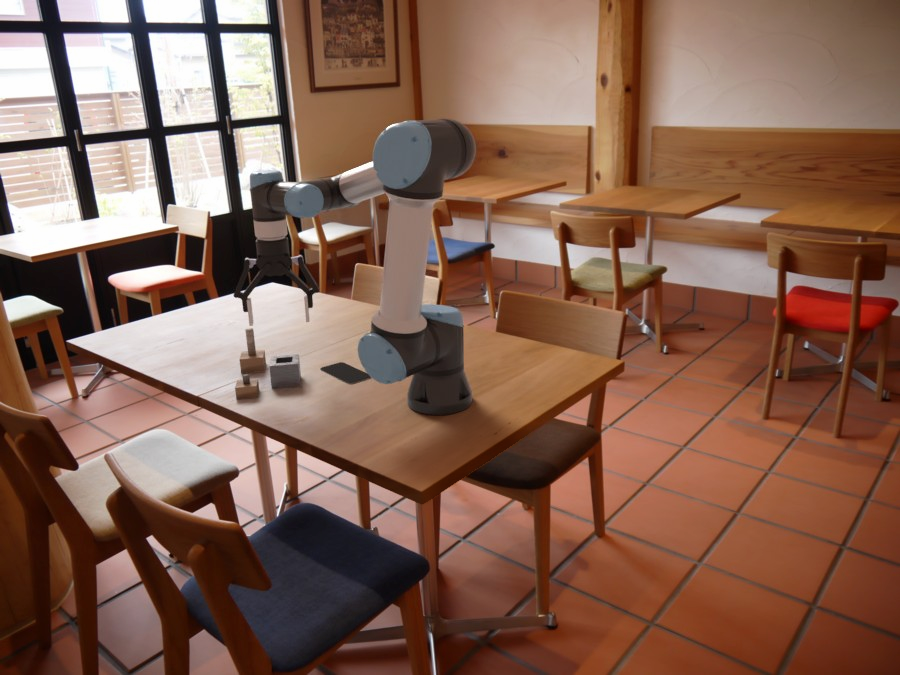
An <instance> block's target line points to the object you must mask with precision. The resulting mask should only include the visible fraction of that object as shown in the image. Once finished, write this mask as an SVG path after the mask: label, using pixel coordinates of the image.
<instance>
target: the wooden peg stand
mask: <svg viewBox="0 0 900 675" xmlns="http://www.w3.org/2000/svg"><path fill="white" fill-rule="evenodd" d="M244 330H245V338H246V345H247V346H246V347H247V351H241V353H240V355H239V356H240V357H239V365H240V374H242V375H243V374H252V373H264V372H265V373H266V367H267V361H266V359H267V358H266V350H265V349H260V350H259V349H258V350H257V349H256V342H255V332H254V331H255V330H254V328H253V327H252V328H251V327H250V328H249V327H248V328H246V329H244Z"/></svg>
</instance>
